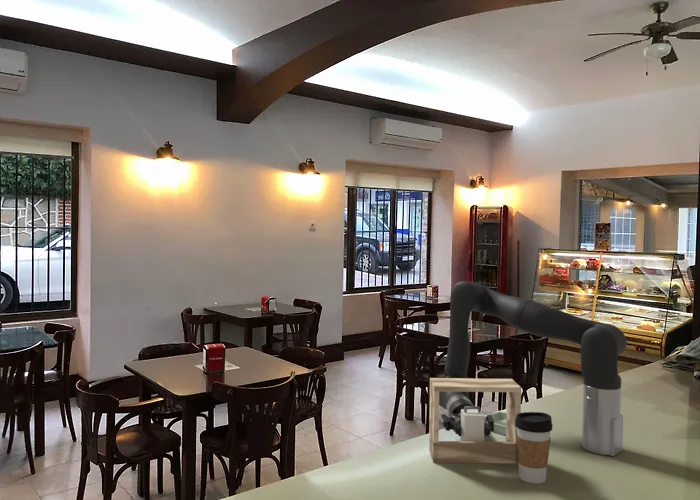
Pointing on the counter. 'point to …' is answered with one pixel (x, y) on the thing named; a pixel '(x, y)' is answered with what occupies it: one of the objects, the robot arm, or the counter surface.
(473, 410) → the caddy
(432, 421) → the frame
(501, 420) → the tray
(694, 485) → the counter surface
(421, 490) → the counter surface
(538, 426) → the coffee cup
